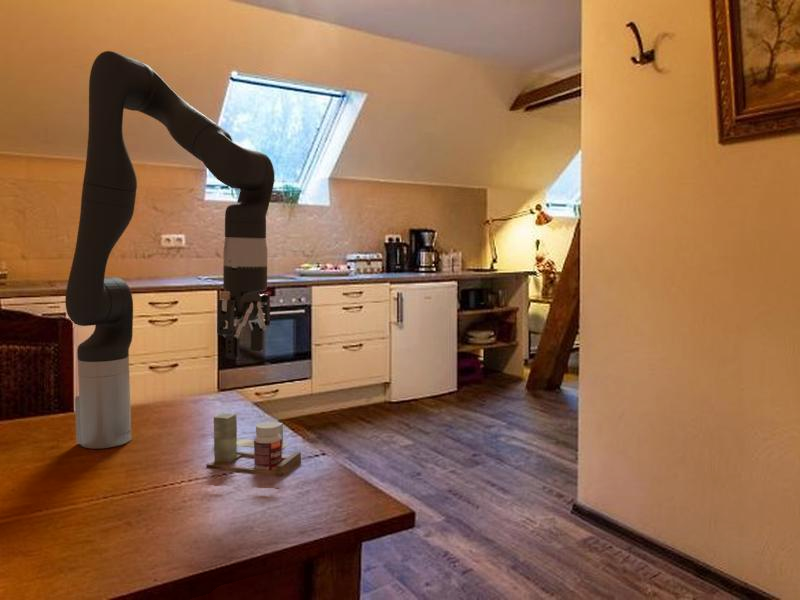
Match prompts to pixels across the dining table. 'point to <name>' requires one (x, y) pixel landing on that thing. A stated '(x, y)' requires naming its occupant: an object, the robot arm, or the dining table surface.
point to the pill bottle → (267, 446)
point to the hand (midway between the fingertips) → (245, 354)
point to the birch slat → (250, 441)
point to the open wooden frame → (228, 452)
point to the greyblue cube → (280, 430)
